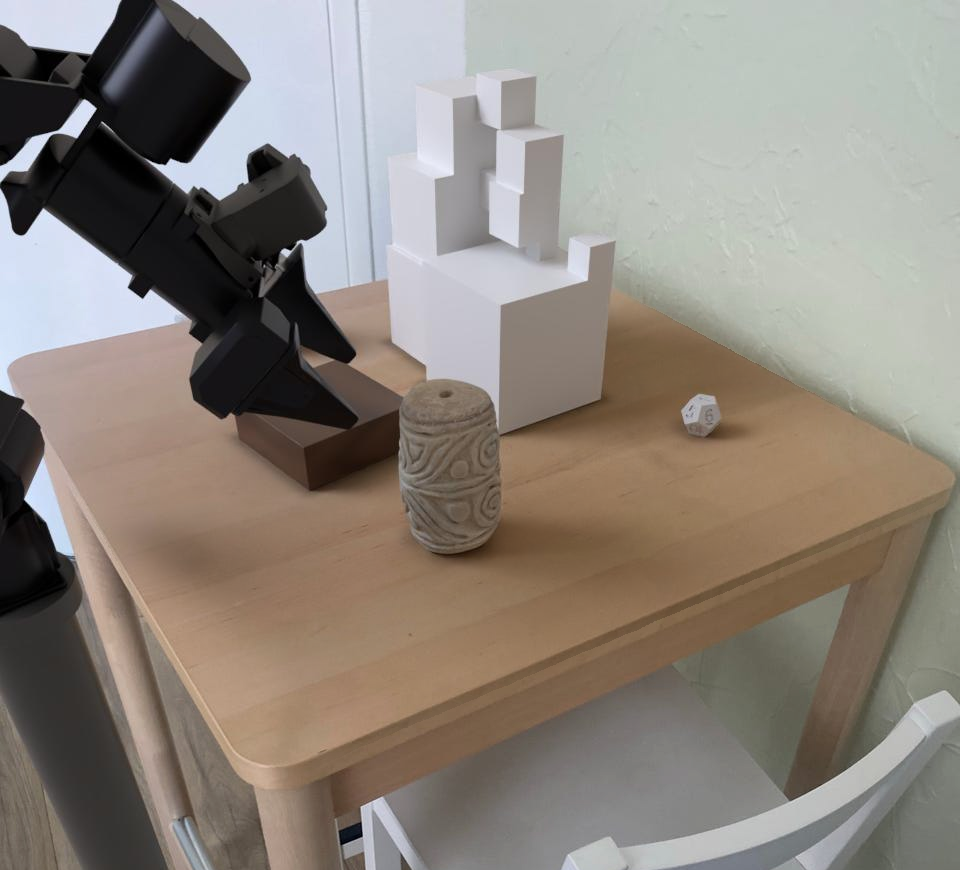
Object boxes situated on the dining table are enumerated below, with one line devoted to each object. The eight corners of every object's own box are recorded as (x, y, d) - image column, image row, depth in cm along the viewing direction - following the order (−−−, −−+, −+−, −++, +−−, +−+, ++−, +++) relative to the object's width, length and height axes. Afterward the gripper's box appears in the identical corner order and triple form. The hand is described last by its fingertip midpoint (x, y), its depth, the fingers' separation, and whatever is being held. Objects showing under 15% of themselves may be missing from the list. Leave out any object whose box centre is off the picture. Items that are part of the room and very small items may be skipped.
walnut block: (309, 491, 78) (303, 447, 75) (238, 438, 84) (230, 396, 81) (415, 445, 83) (414, 403, 80) (342, 398, 89) (338, 358, 86)
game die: (707, 445, 83) (712, 414, 81) (670, 431, 85) (675, 400, 83) (727, 429, 85) (733, 399, 83) (691, 416, 87) (696, 385, 85)
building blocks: (600, 399, 89) (629, 97, 73) (498, 435, 84) (503, 120, 68) (470, 319, 102) (469, 48, 86) (375, 346, 97) (354, 64, 81)
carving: (390, 527, 74) (380, 383, 66) (480, 505, 76) (480, 363, 68) (420, 574, 70) (413, 426, 62) (514, 549, 72) (519, 403, 64)
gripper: (211, 162, 45) (449, 369, 54) (241, 73, 59) (426, 248, 67) (86, 330, 50) (322, 496, 58) (140, 211, 64) (325, 359, 72)
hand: (353, 389), depth 64 cm, fingers open, 9 cm apart
